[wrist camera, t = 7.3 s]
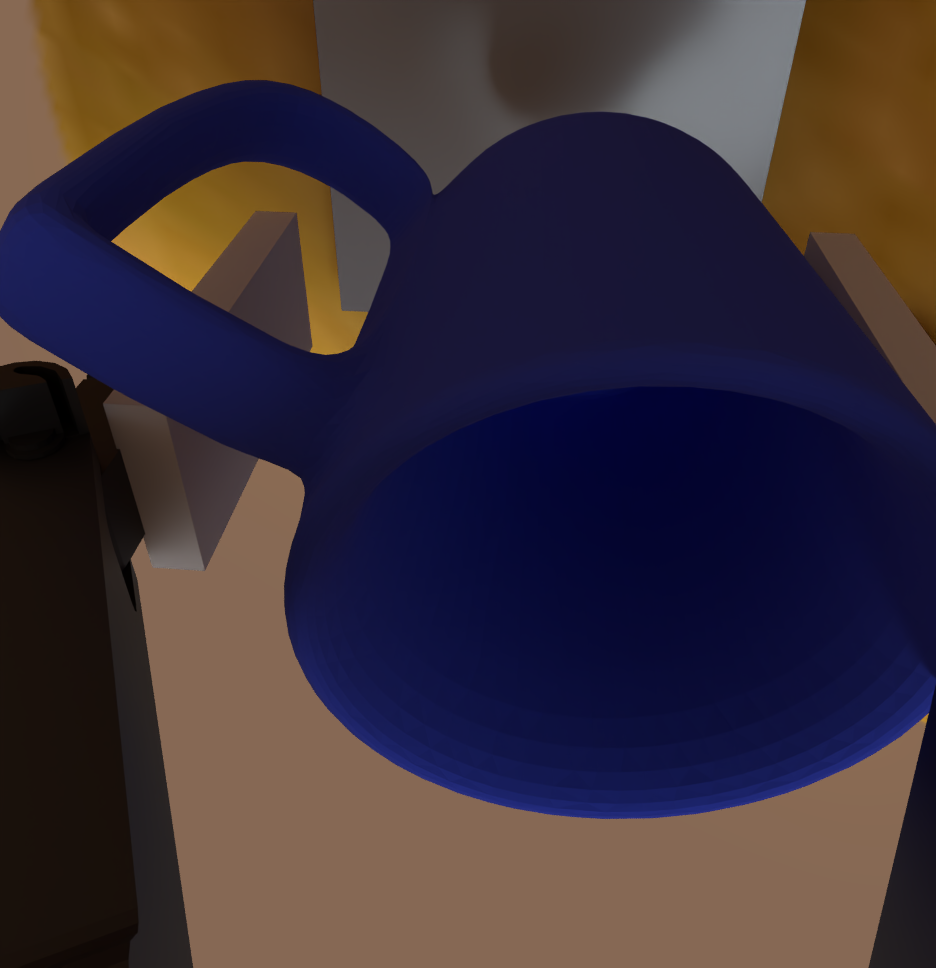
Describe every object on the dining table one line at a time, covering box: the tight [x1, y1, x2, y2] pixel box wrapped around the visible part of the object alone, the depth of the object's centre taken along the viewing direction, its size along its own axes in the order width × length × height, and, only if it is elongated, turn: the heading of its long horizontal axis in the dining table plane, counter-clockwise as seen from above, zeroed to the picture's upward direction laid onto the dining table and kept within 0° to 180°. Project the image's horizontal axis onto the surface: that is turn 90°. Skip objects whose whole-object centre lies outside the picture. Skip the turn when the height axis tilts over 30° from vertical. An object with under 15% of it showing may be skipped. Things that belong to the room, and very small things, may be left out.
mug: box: [0, 80, 936, 819], centre depth 13 cm, size 8×12×10 cm
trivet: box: [313, 0, 806, 312], centre depth 27 cm, size 14×14×2 cm
